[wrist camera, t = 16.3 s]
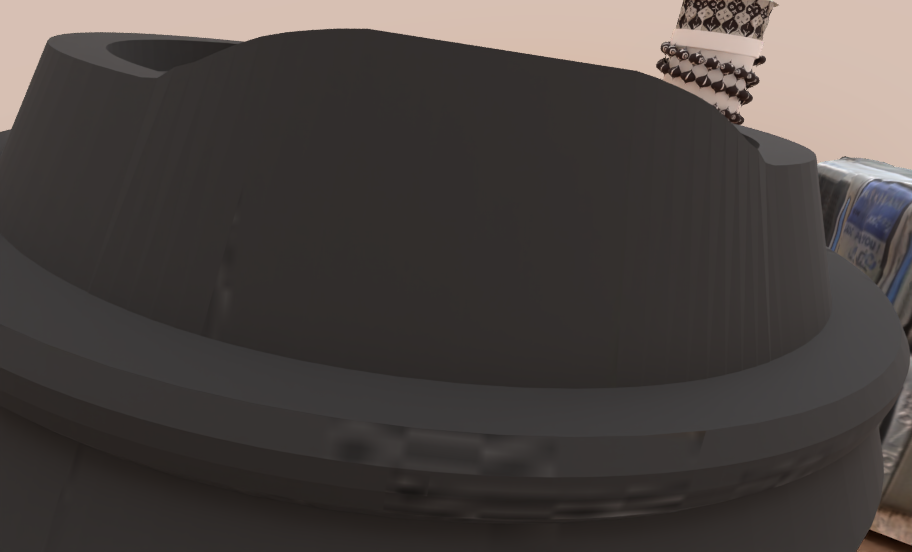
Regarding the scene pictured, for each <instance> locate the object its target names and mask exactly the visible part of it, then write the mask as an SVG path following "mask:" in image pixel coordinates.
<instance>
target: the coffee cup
mask: <svg viewBox="0 0 912 552" xmlns="http://www.w3.org/2000/svg"><path fill="white" fill-rule="evenodd" d="M909 366H910V349H909V344H908V340H907V338H906V335H905V332H904V329H903V327H902V324H901V322H900V319H899V317H898V315H897V313H896V311H895V309H894V307H893V305H892V303H891V302H890V300H889V299H888V298H887V296H886V295H885V294H884V292H883V291H882V290H881V289H880V288H879V287H878V286H877V285H876V284H875V283H874V282H873V281H872V280H871V279H870V278H869V277H868V276H867V275H866V274H865V273H863V272H862V271H861V270H860V269H858V268H857V267H856V266H855V265H853V264H852V263H850V262H849V261H848V260H846V259H845V258H843V257H842V256H840V255H839V254H837V253H836V252H834V251H833V250H831V249H830V248H828V247H826V242H825V233H824V223H823V214H822V205H821V196H820V187H819V178H818V168H817V160H816V155H815V154H814V152H812V151H811V150H810V149H808V148H806V147H804V146H802V145H800V144H797V143H795V142H792V141H790V140H787V139H784V138H781V137H778V136H775V135H772V134H769V133H765V132H762V131H759V130H755V129H752V128H748V127H744V126H741V125H737V124H733V123H731V122H730V121H729V120H728V119H727V118H726V117H725V116H724V115H723V114H722V113H721V112H720V111H718V110H717V109H716V108H715V107H714V106H713V105H711V104H710V103H708V102H706V101H705V100H703V99H701V98H700V97H698V96H696V95H694V94H692V93H690V92H688V91H686V90H684V89H682V88H680V87H678V86H675V85H673V84H670V83H668V82H666V81H663V80H661V79H658V78H656V77H653V76H650V75H647V74H644V73H641V72H638V71H633V70H627V69H620V68H614V67H607V66H601V65H595V64H588V63H582V62H575V61H569V60H563V59H556V58H550V57H543V56H537V55H530V54H524V53H518V52H512V51H505V50H499V49H492V48H486V47H480V46H473V45H466V44H461V43H454V42H448V41H441V40H435V39H428V38H422V37H416V36H409V35H403V34H397V33H390V32H384V31H378V30H371V29H324V30H308V31H296V32H285V33H280V34H274V35H268V36H262V37H258V38H255V39H252V40H249V41H246V42H241V41H230V40H220V39H210V38H197V37H186V36H172V35H156V34H138V33H106V32H105V33H103V32H100V33H99V32H95V33H71V34H62V35H57V36H54V37H51V38H50V39H49V40H48V41H47V43H46V46H45V48H44V51H43V53H42V55H41V58H40V60H39V63H38V66H37V68H36V70H35V73H34V75H33V78H32V80H31V82H30V85H29V88H28V90H27V92H26V95H25V97H24V100H23V102H22V105H21V107H20V110H19V112H18V115H17V117H16V119H15V122H14V124H13V127H12V129H11V130H7V131H2V132H0V552H856V551H857V549H858V548H859V546H860V544H861V543H862V541H863V539H864V538H865V536H866V534H867V533H868V531H869V529H870V528H871V526H872V523H873V521H874V518H875V515H876V512H877V509H878V506H879V504H880V501H881V494H882V487H883V480H884V460H883V453H882V446H881V439H880V433H879V426H878V425H879V424H880V422H881V421H882V420H883V419H884V417H885V416H886V415H887V414H888V412H889V411H890V410H891V408H892V407H893V405H894V404H895V402H896V400H897V398H898V396H899V394H900V391H901V389H902V387H903V384H904V382H905V380H906V377H907V374H908V371H909Z"/></svg>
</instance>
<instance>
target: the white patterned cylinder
mask: <svg viewBox="0 0 912 552" xmlns="http://www.w3.org/2000/svg"><path fill="white" fill-rule="evenodd" d="M776 6H778V4H777V3H775V2H773V0H683V4H682V8H681V12H680V15H679V19H678V22H677V26H676V29H674V30H673V34H672V38H671V41H670V42H664V43H662V45H661V51H662V52H663V53H664V54H665V55H666V54H667V55H668V56H669V58H667V59H666V57H665V58H663V59H661V60H659V61H658V62H657V64H656V67H657V68H658V69H659V70H660V71H661V72H663V73H664V79H663V81H666V82H668V83H670V84H673V85H675V86H678V87H680V88H682V89H684V90H686V91H688V92H690V93H692V94H694V95H696V96H698V97H700V98H701V99H703V100H705V101H706V102H708V103H710V104H711V105H713V106H714V107H715V108H716V109H717V110H718V111H720V112H721V113H722V114H723V115H724V116H725V117H726V118H727V119H728V120H729V121H730V122H731V123H733V124H737V125H741V124H742V123H743V122H744V118H743V117H742V116H741V115H740V114H737V112H738V109H739V105H740V104H741V106H742V105H744V104H748V103H749V102H751V101H752V99H753V97H752V95H751V94H750V93H749V92H748V91H746V90H747V89H748V88H751V87H753V86H755V85H757V84H758V83H759V78H758V77H757V76H756V75H755V74H754V73H753V72H752V66H754V65H756V66H758V65H760V64H763V63H764V62H765V61H766V58H765V57H764V56H760V53H761V50H762V47H763V44H764V42H763V41H762V39H763V33H764V31H765V29H766V27H767V25H768V20H769V15H770V13H771V11H772V9H773V7H776ZM745 87H746V88H747V89H746V90H745Z"/></svg>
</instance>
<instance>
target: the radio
mask: <svg viewBox="0 0 912 552" xmlns="http://www.w3.org/2000/svg"><path fill="white" fill-rule="evenodd" d="M817 168H818V178H819V187H820V196H821V205H822V214H823V223H824V233H825V242H826V247H828V248H830V249H831V250H833V251H834V252H836V253H837V254H839V255H840V256H842V257H843V258H845V259H846V260H848V261H849V262H850V263H852V264H853V265H855V266H856V267H857V268H858V269H860V270H861V271H862V272H863V273H865V274H866V275H867V276H868V277H869V278H870V279H871V280H872V281H873V282H874V283H875V284H876V285H877V286H878V287H879V288H880V289H881V290H882V291H883V292H884V294H885V295H886V296H887V298H888V299H889V300H890V302H891V303H892V305H893V307H894V309H895V311H896V313H897V315H898V317H899V319H900V322H901V324H902V327H903V329H904V332H905V335H906V338H907V340H908V344H909V349H910V366H909V371H908V374H907V377H906V380H905V382H904V384H903V387H902V389H901V391H900V394H899V396H898V398H897V400H896V402H895V404H894V405H893V407H892V408H891V410H890V411H889V412H888V414H887V415H886V416H885V417H884V419H883V420H882V421H881V422H880V424H879V425H878V426H879V433H880V439H881V446H882V453H883V460H884V480H883V487H882V494H881V501H880V504H879V506H878V509H877V512H876V515H875V518H874V521H873V523H872V526H871V528H870V530H873V531H875V532H878V533H881V534H883V535H886V536H888V537H891V538H894V539H896V540H899V541H901V542H904V543H907V544H909V545H912V170H909V169H905V168H899V167H894V166H892V165H890V164H887V163H884V162H879V161H875V160H869V159H863V158H849V157H846V156H845V157H842V158H841V159H839V160H834V161H825V162H821V163H819V164H817Z"/></svg>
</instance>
